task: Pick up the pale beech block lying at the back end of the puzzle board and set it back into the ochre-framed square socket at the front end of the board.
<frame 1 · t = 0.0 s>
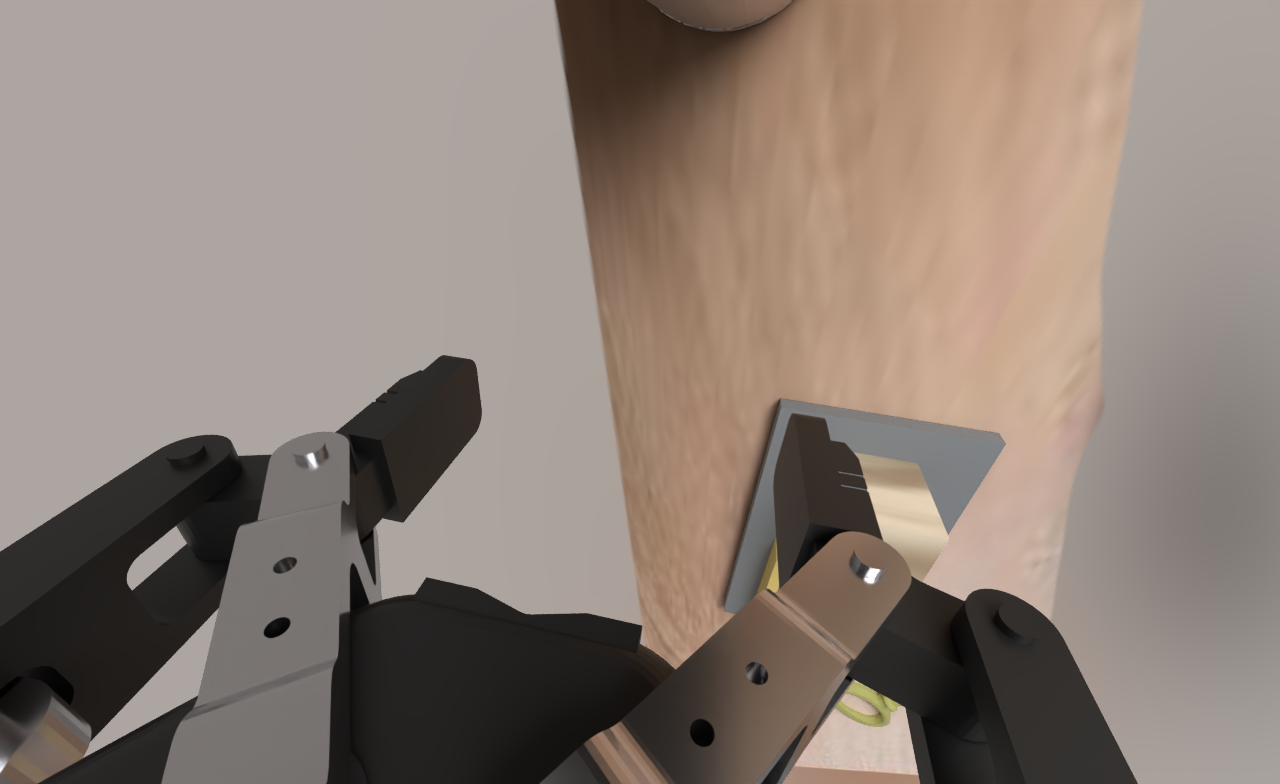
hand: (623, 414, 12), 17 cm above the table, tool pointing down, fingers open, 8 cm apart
key: (886, 686, 47), on the table
beech block: (863, 484, 32), point 1 cm above the table, touching puzzle board
puzzle board: (835, 533, 36), on the table
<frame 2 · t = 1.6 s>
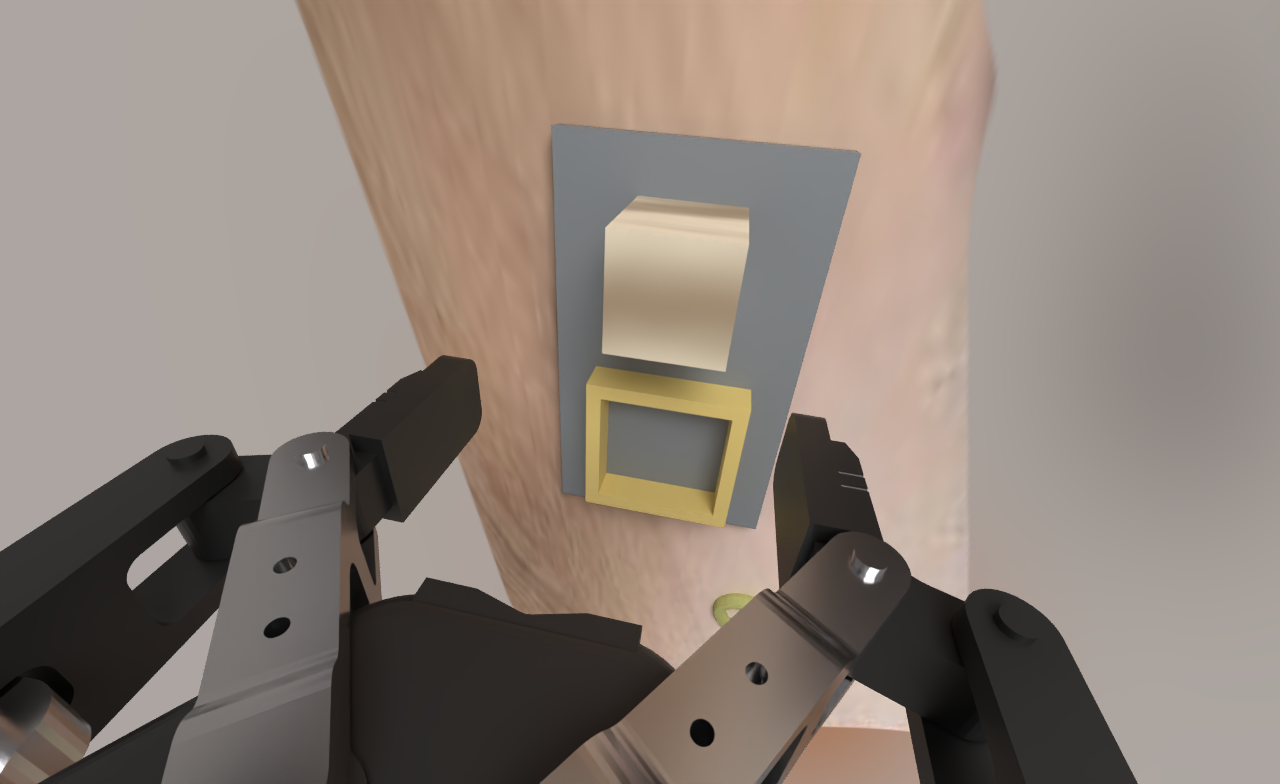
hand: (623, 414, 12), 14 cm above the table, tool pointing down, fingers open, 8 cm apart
key: (785, 599, 37), on the table
beech block: (686, 256, 23), point 1 cm above the table, touching puzzle board
puzzle board: (675, 358, 27), on the table
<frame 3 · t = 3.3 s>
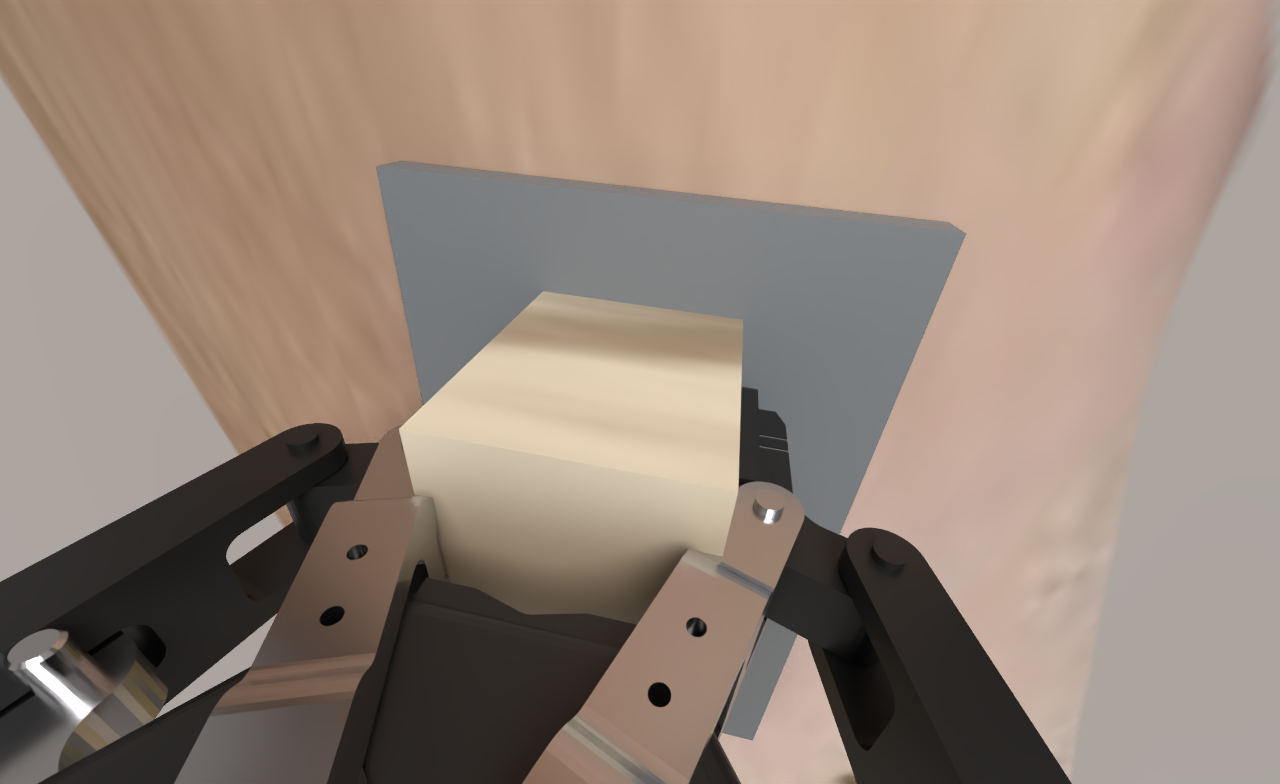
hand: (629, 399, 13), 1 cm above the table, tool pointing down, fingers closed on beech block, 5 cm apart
beech block: (633, 391, 13), point 1 cm above the table, touching gripper, puzzle board
puzzle board: (628, 519, 17), on the table
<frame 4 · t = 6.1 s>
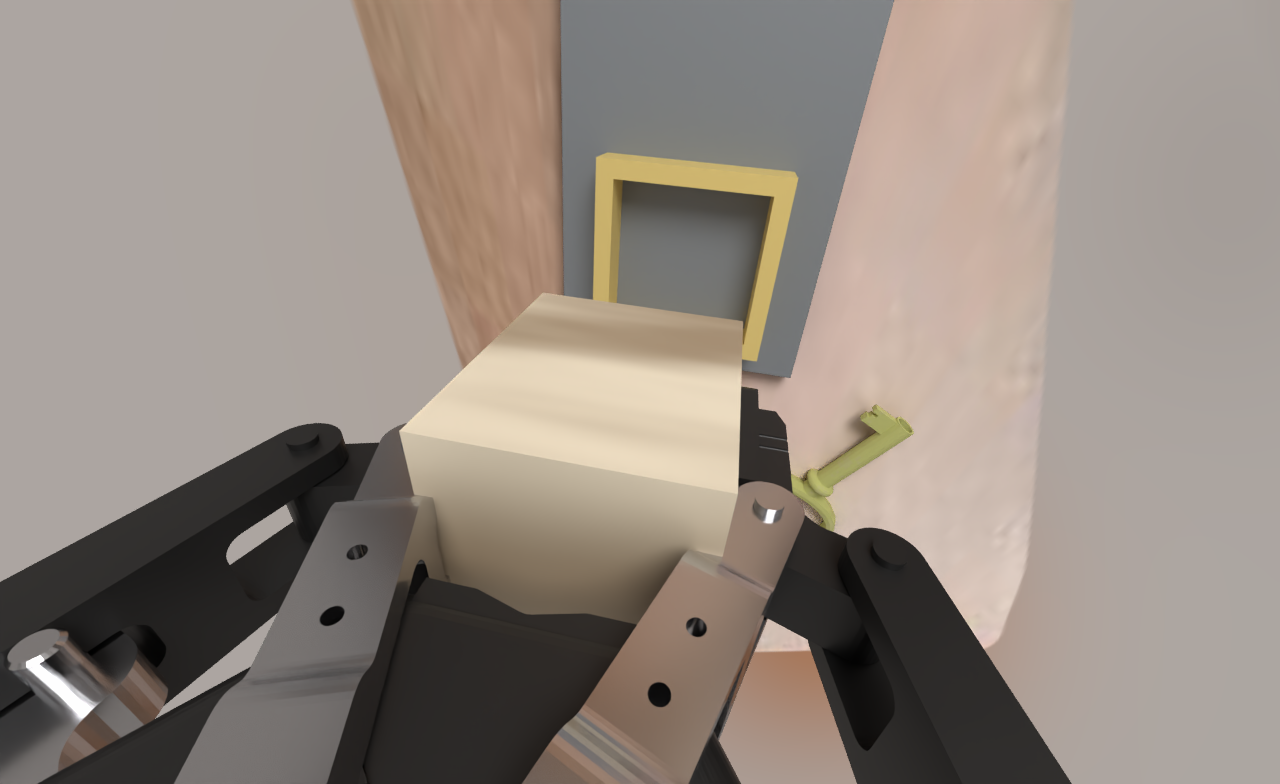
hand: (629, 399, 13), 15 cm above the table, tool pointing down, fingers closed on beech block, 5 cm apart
key: (816, 469, 32), on the table
beech block: (633, 392, 13), point 14 cm above the table, touching gripper
puzzle board: (702, 142, 23), on the table
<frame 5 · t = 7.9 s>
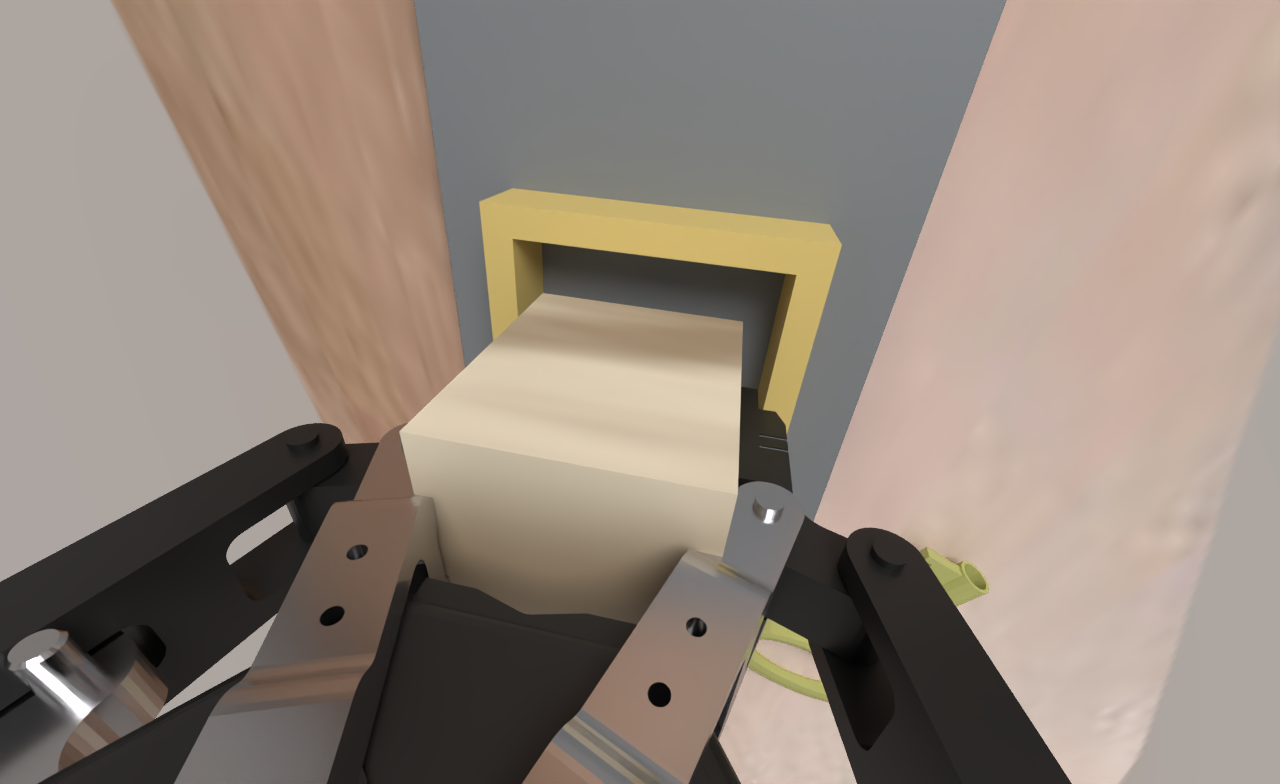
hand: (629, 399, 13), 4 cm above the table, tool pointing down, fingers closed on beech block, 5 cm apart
key: (841, 611, 22), on the table
beech block: (633, 392, 13), point 4 cm above the table, touching gripper
puzzle board: (672, 172, 14), on the table
when the fingers open (3 cm above the table, at t = 9.0 s): beech block drops 2 cm, resting on puzzle board.
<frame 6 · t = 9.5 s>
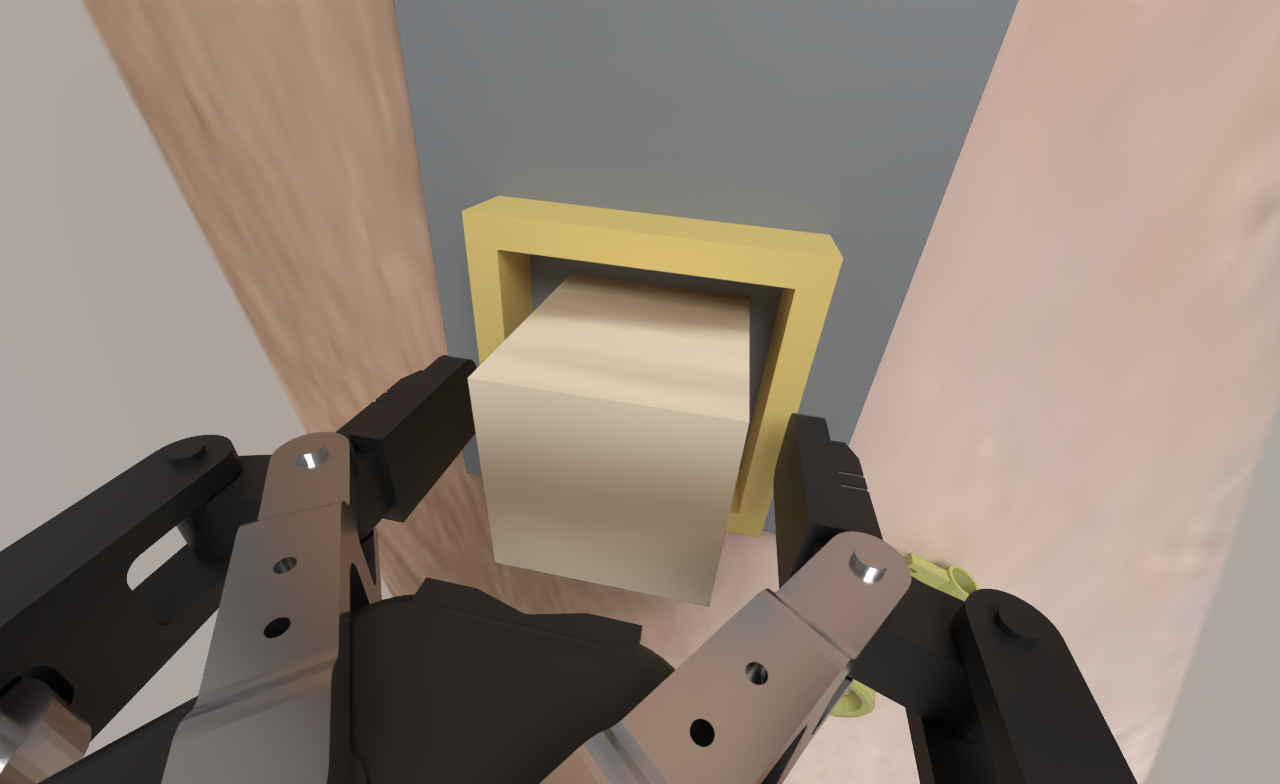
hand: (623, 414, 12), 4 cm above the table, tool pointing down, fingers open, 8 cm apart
key: (836, 621, 22), on the table
beech block: (651, 364, 15), point 1 cm above the table, touching puzzle board
puzzle board: (665, 179, 13), on the table
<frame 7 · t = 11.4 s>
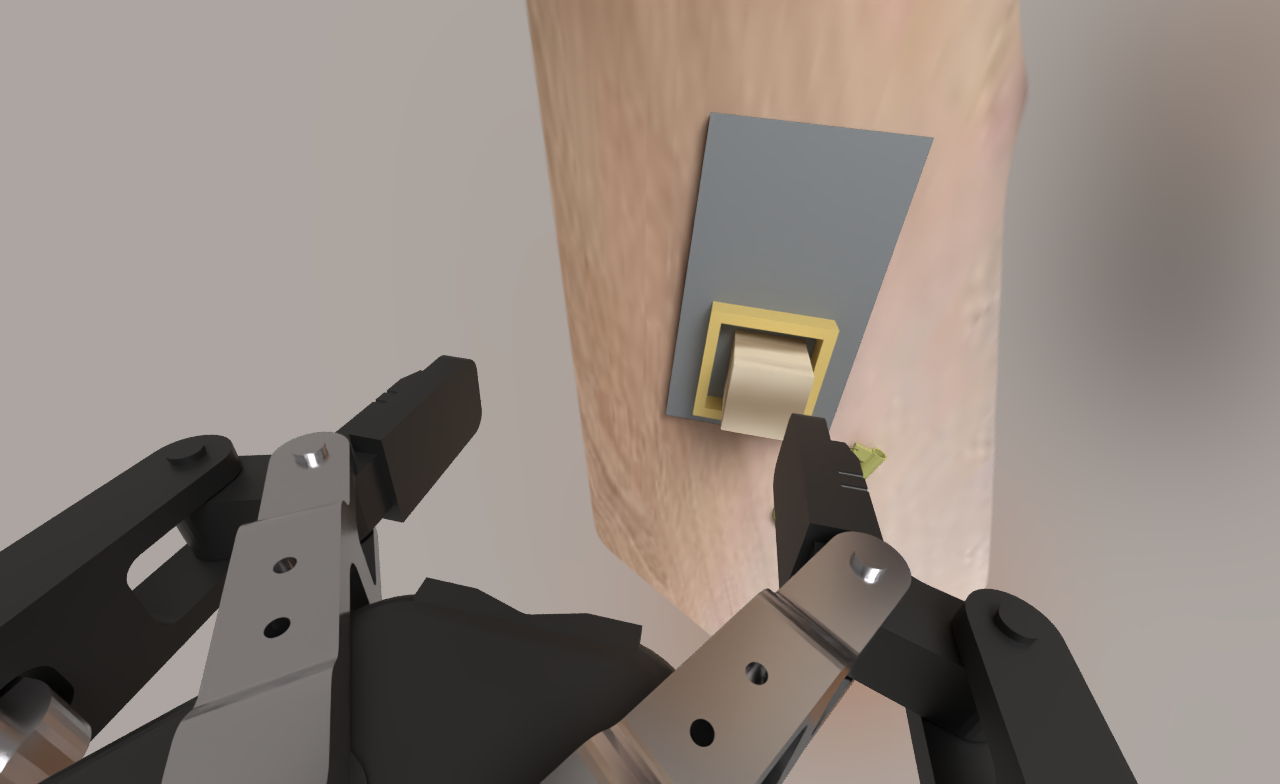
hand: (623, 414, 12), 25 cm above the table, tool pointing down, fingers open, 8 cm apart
key: (830, 492, 43), on the table
beech block: (762, 365, 37), point 1 cm above the table, touching puzzle board
puzzle board: (774, 296, 35), on the table
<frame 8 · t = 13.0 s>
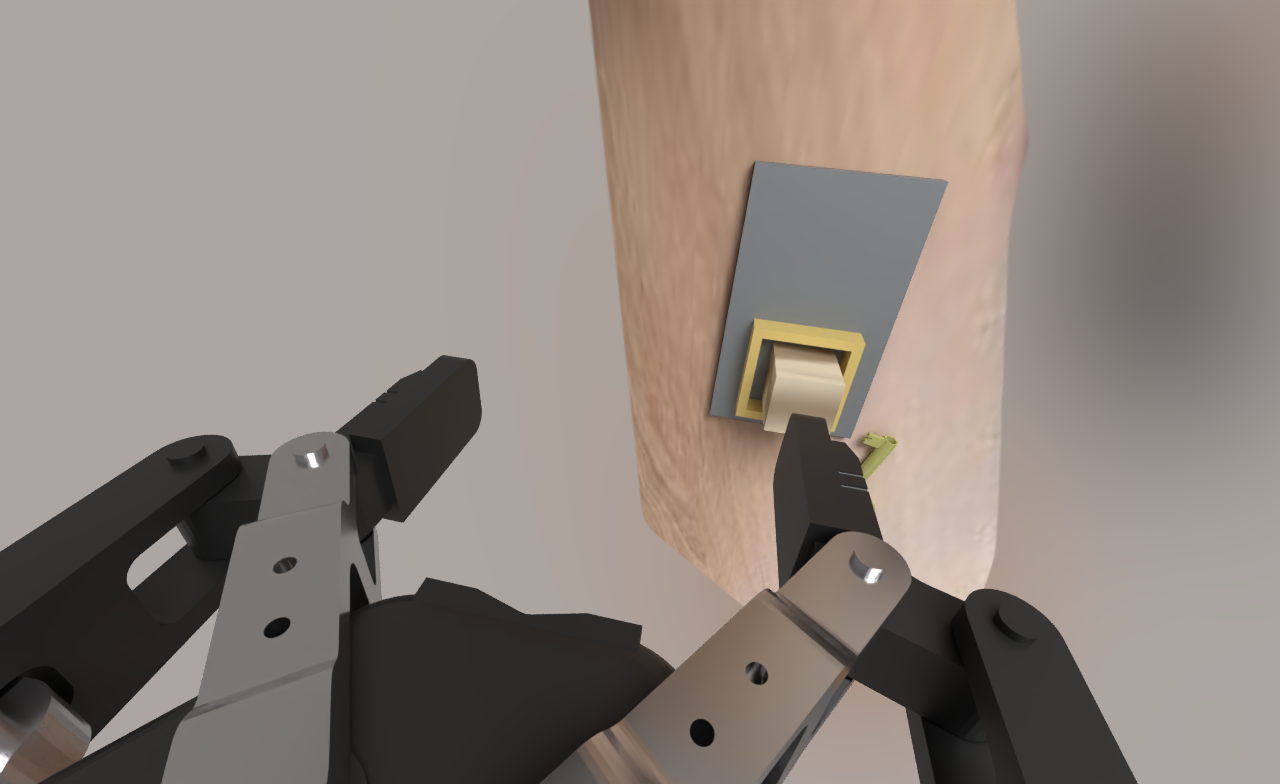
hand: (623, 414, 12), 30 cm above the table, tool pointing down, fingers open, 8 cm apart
key: (851, 475, 49), on the table
beech block: (796, 371, 42), point 1 cm above the table, touching puzzle board
puzzle board: (807, 313, 41), on the table
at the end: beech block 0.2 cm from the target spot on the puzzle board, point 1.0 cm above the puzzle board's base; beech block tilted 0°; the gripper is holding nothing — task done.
